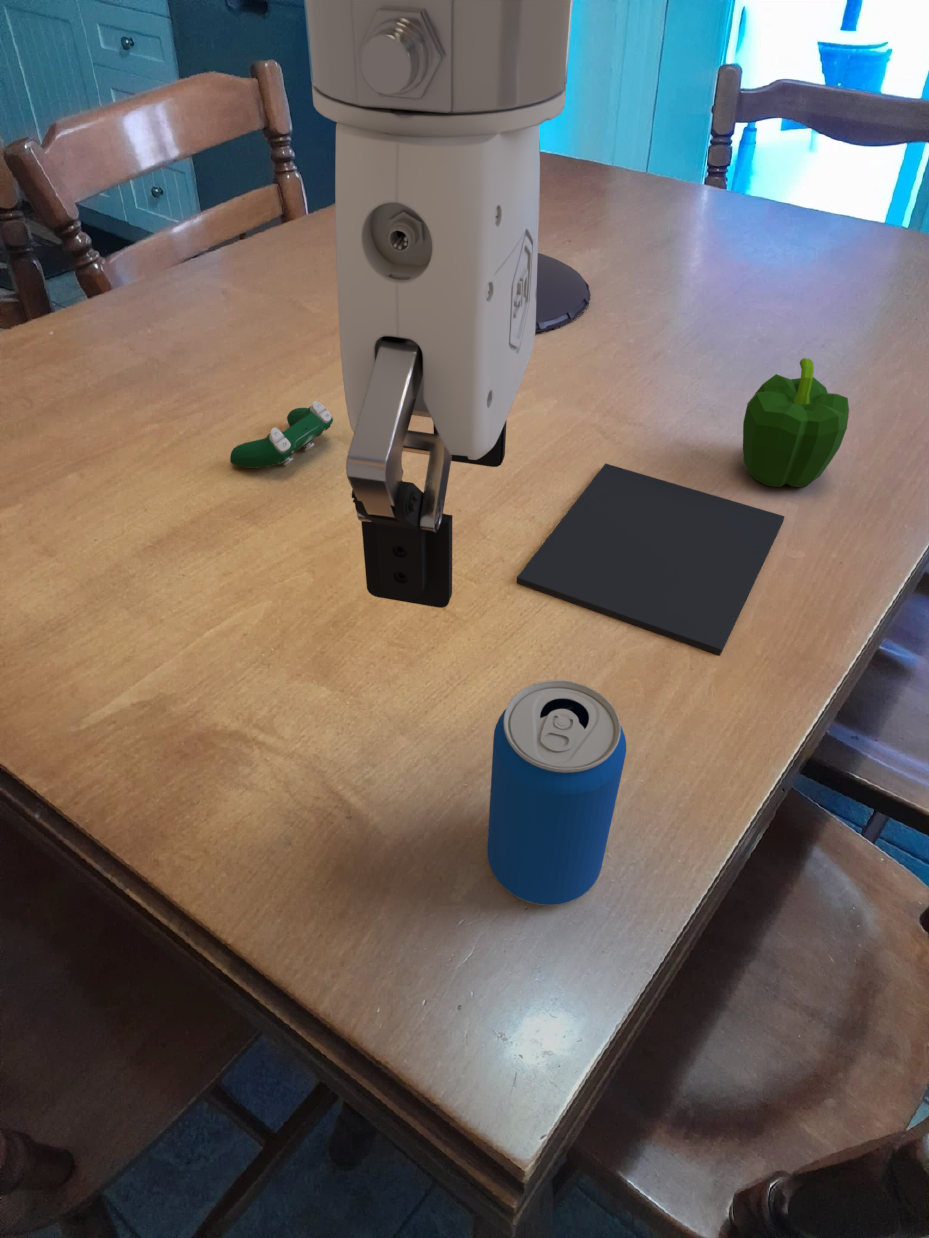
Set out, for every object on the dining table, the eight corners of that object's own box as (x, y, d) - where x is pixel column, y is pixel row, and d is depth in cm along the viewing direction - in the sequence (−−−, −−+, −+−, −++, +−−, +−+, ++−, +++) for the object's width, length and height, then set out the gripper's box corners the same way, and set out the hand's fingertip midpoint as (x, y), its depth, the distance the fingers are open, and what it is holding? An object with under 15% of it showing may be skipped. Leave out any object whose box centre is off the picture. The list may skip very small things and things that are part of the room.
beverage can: (610, 829, 53) (640, 690, 45) (587, 926, 48) (616, 792, 40) (504, 800, 54) (514, 661, 46) (472, 893, 50) (477, 756, 41)
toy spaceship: (331, 275, 111) (328, 249, 109) (479, 232, 122) (479, 207, 120) (478, 359, 95) (479, 330, 93) (632, 300, 107) (636, 273, 104)
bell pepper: (811, 512, 76) (847, 407, 69) (719, 481, 79) (744, 378, 72) (839, 466, 81) (875, 364, 74) (751, 439, 84) (778, 338, 78)
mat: (783, 521, 75) (784, 516, 75) (719, 655, 63) (721, 649, 63) (604, 468, 81) (605, 463, 80) (516, 583, 69) (516, 577, 68)
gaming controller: (250, 491, 80) (281, 466, 76) (222, 456, 79) (252, 429, 75) (316, 445, 86) (348, 419, 81) (291, 412, 85) (322, 384, 81)
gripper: (506, 140, 19) (484, 686, 31) (605, 2, 32) (563, 429, 43) (182, 114, 20) (279, 648, 32) (399, -9, 33) (412, 409, 44)
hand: (442, 522), depth 38 cm, fingers open, 9 cm apart
